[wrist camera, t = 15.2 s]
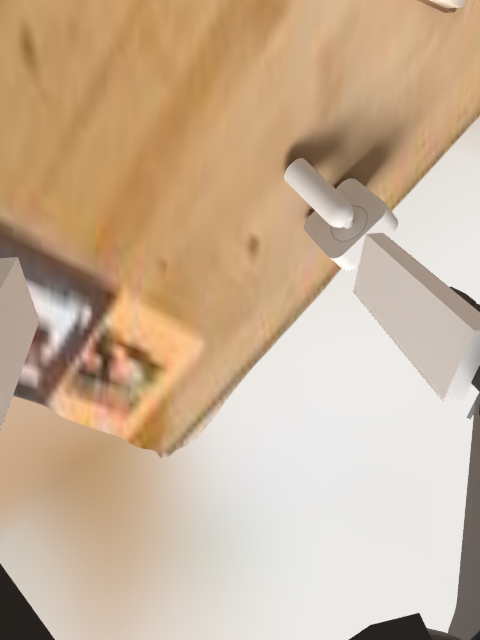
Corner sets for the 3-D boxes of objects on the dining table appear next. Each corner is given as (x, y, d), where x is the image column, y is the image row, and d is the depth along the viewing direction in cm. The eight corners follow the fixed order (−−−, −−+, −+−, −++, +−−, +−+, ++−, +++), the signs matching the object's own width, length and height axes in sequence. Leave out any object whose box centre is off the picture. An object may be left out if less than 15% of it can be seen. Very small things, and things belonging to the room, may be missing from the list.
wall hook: (311, 130, 43) (363, 169, 37) (354, 183, 50) (403, 223, 44) (260, 188, 46) (300, 234, 39) (307, 230, 53) (348, 275, 47)
